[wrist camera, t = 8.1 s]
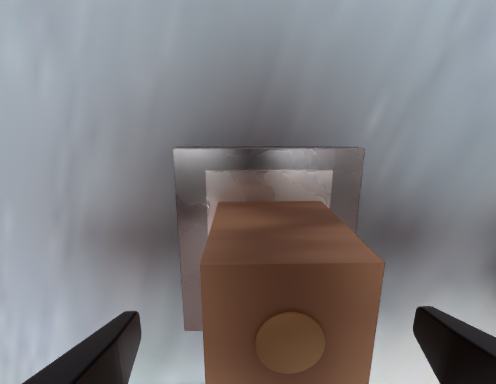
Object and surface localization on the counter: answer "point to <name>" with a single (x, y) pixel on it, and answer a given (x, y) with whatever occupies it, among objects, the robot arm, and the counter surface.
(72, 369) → the robot arm
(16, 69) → the counter surface
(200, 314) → the plate
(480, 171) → the counter surface
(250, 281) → the block
